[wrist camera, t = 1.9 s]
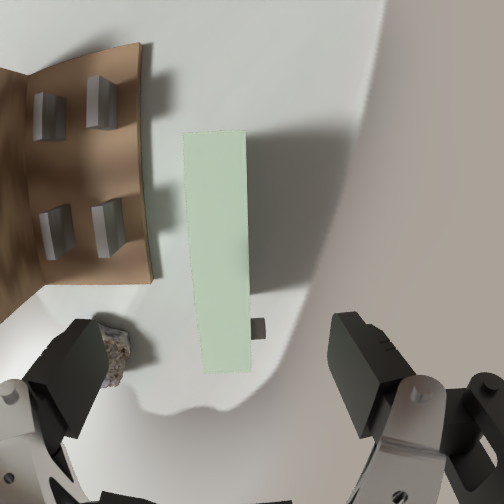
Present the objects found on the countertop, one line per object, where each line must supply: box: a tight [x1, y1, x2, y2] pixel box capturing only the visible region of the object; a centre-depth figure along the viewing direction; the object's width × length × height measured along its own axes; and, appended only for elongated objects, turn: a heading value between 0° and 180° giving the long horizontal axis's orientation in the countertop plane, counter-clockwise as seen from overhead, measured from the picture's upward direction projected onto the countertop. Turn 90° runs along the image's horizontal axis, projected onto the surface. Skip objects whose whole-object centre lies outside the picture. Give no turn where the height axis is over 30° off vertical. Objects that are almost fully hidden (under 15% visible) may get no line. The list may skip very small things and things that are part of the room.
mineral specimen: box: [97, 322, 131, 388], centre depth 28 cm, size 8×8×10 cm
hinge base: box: [0, 42, 153, 324], centre depth 18 cm, size 22×14×10 cm, turn 1°
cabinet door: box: [183, 130, 266, 374], centre depth 21 cm, size 14×4×11 cm, turn 1°
